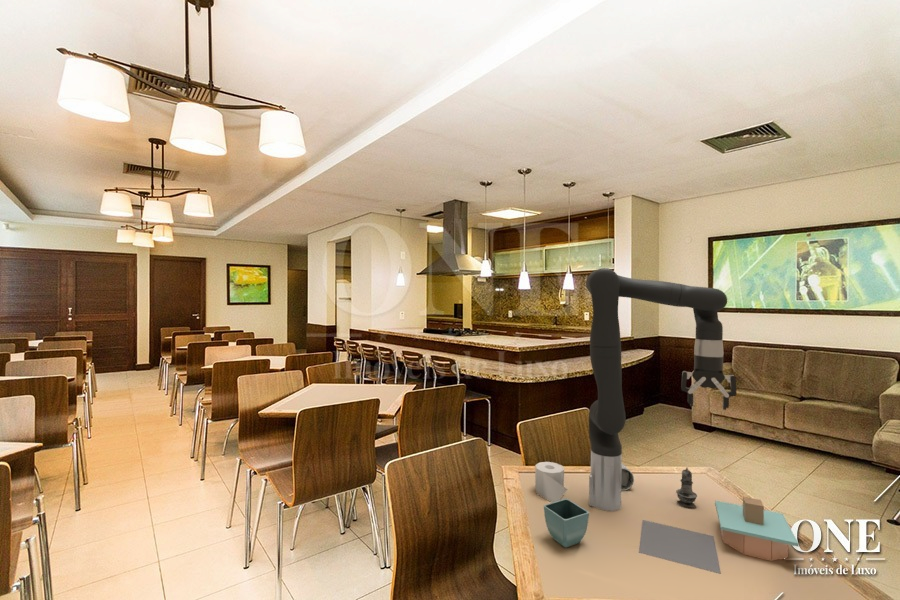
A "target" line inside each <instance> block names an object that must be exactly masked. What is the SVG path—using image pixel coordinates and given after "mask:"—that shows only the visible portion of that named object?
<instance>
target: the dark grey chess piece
mask: <svg viewBox="0 0 900 600" xmlns="http://www.w3.org/2000/svg"><path fill="white" fill-rule="evenodd" d="M679 481H680V482H681V483H680V484H681V485H680V486H681V488H680V489H679V488H678V489H677V490H676V492H675V493H676V494H677V495H676V496H677V497H678V499H679V500H676V501H677V502H676V504H677V505H679V506H680V507H681V508H685V509H695V508H696V507H697V506H696V504H695V503H694V502H696V500H697V499H696V498H697V497H698V494H697V493H696V492H694V491H693V484H694V482H693V473H692V471H690V470H689V468H688V467H686V468H685V469H683V470H682V471H681V479H680V480H679Z"/></svg>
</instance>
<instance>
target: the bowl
mask: <svg viewBox="0 0 900 600" xmlns="http://www.w3.org/2000/svg"><path fill="white" fill-rule="evenodd" d="M720 534H721V538H722V542H723V543H725V544H726V545H728V546H730V547H731V548H733V549H734V550H736V551H738V552H740V553H741V554H743V555H745V556H750V557H754V558H758V559H762V560H767V561H770V562H772V561H776V560H780V559H784V558H787V557H788V555H789V544H784V543H779V542H775V541H770V540H766V539H761V538H757V537H752V536H748V535H743V534H739V533H734V532H730V531H725V530H721V529H720ZM788 558H789V557H788ZM788 558H787V559H788ZM784 560H785V559H784Z"/></svg>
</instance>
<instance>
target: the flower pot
mask: <svg viewBox="0 0 900 600" xmlns="http://www.w3.org/2000/svg"><path fill="white" fill-rule="evenodd" d="M543 510H544V511H543V513H544V520H545V524H546V527H547V531H548V532H549V534H550V535H551V538H552V539H553V540H554V541H555V542H557V543H558V544H559V545H561V546H562V547H563V548H565V549H566V548H569V547H571V546H575V545H577V544H579V543H581V541H582V540H583V539H584V537H585V535H586V533H587V530H588V523H589V516H590V511H588V510H587V509H585V508H583V507H581V506H579V504H577V503H575V502H573V501H572V500H570V499H569V498H563V499H560V500H559V501H557V502H550V503H546V504H544V505H543Z"/></svg>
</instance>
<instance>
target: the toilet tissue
mask: <svg viewBox="0 0 900 600" xmlns="http://www.w3.org/2000/svg"><path fill="white" fill-rule="evenodd" d="M534 467H535V473H534V474H535V475H534V476H535V478H534V479H535V480H534V481H535V482H534V483H535V484H534V485H535V486H534V487H535V490H536V491H535V494H536V493H537V494H539V495H540V497H541V496H542V497H541V498H543V499H544V498H545V500H546V499H547V500H546V501H548V500H549V501H548V502H550V501H551V502H550V503H553V502H557V501H560V500H562V498H563V496H564V495H565V494H566V492H567V491H568V488H567V487H565V468H564V467H563V465H562V464H559V463H557V462H553V461H551V462H550V461H542V462H538V463H536V464H535V466H534ZM537 494H536V495H537ZM539 495H538V496H539Z"/></svg>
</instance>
